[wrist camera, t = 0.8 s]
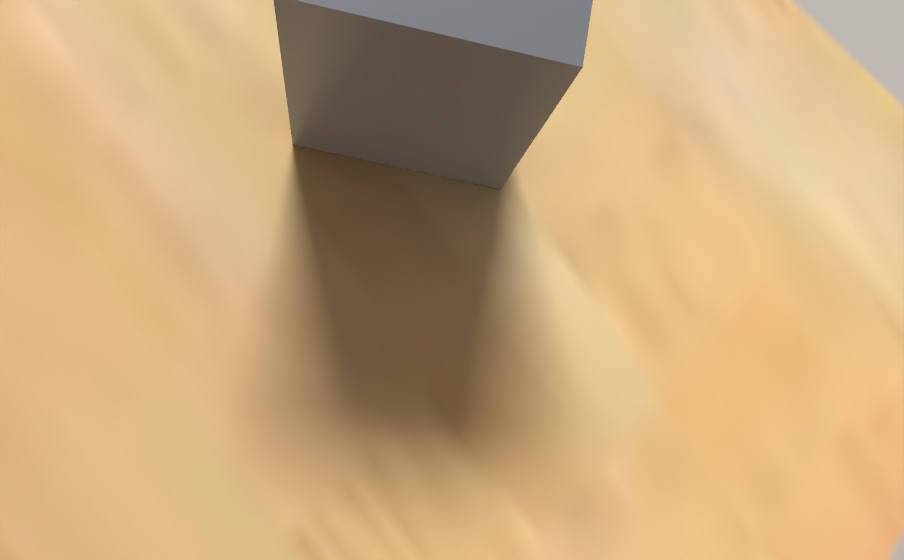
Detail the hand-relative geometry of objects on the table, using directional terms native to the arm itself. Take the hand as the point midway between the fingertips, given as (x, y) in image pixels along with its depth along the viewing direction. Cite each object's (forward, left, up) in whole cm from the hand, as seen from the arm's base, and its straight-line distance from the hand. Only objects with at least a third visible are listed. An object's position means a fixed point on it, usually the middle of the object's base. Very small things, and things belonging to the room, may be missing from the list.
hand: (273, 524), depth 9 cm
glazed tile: (+10, +1, -13) cm, 16 cm away
